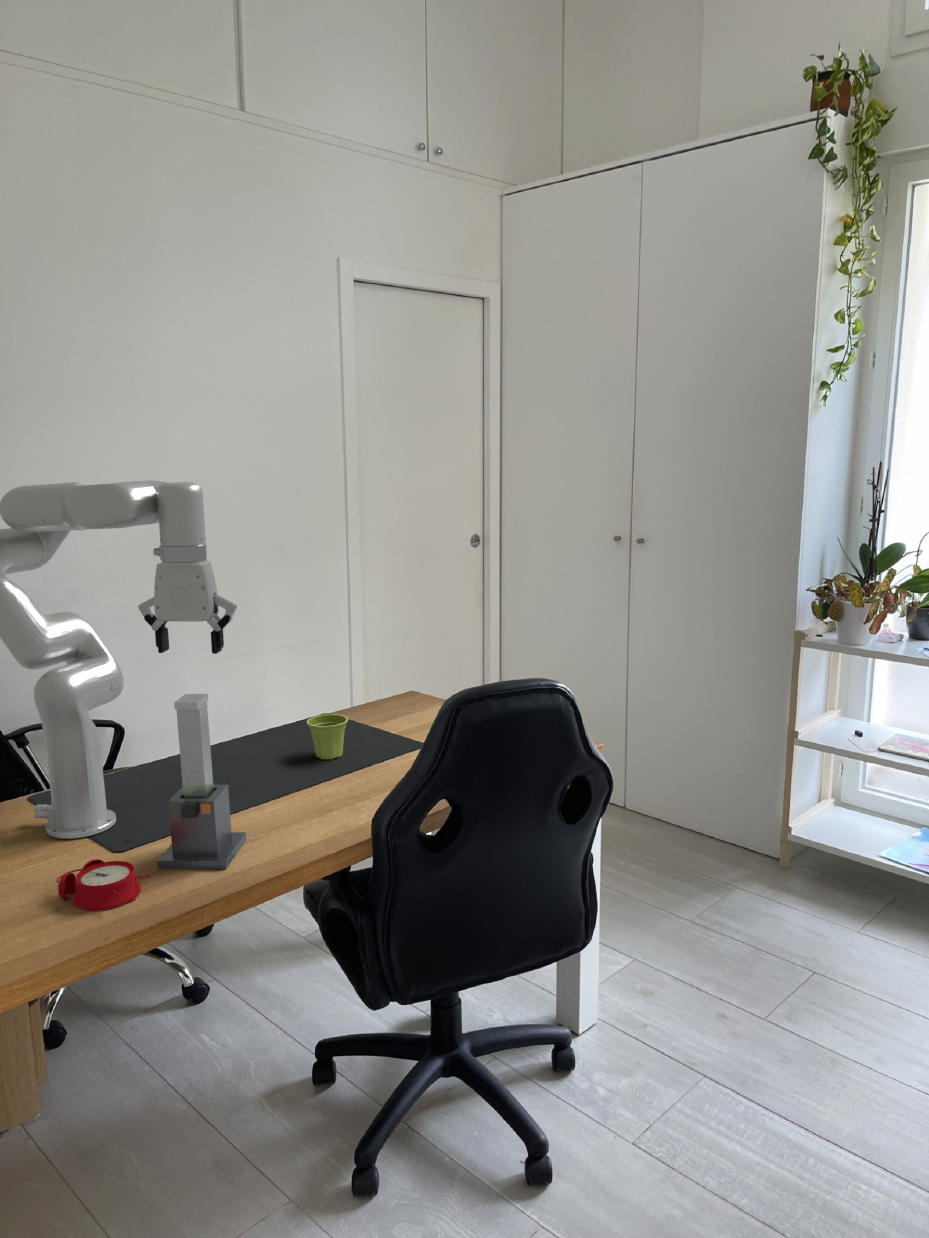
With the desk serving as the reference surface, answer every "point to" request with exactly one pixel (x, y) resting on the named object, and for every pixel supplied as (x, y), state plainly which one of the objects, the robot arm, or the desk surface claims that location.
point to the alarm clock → (101, 885)
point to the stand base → (201, 832)
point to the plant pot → (328, 735)
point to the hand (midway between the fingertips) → (190, 651)
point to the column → (194, 745)
